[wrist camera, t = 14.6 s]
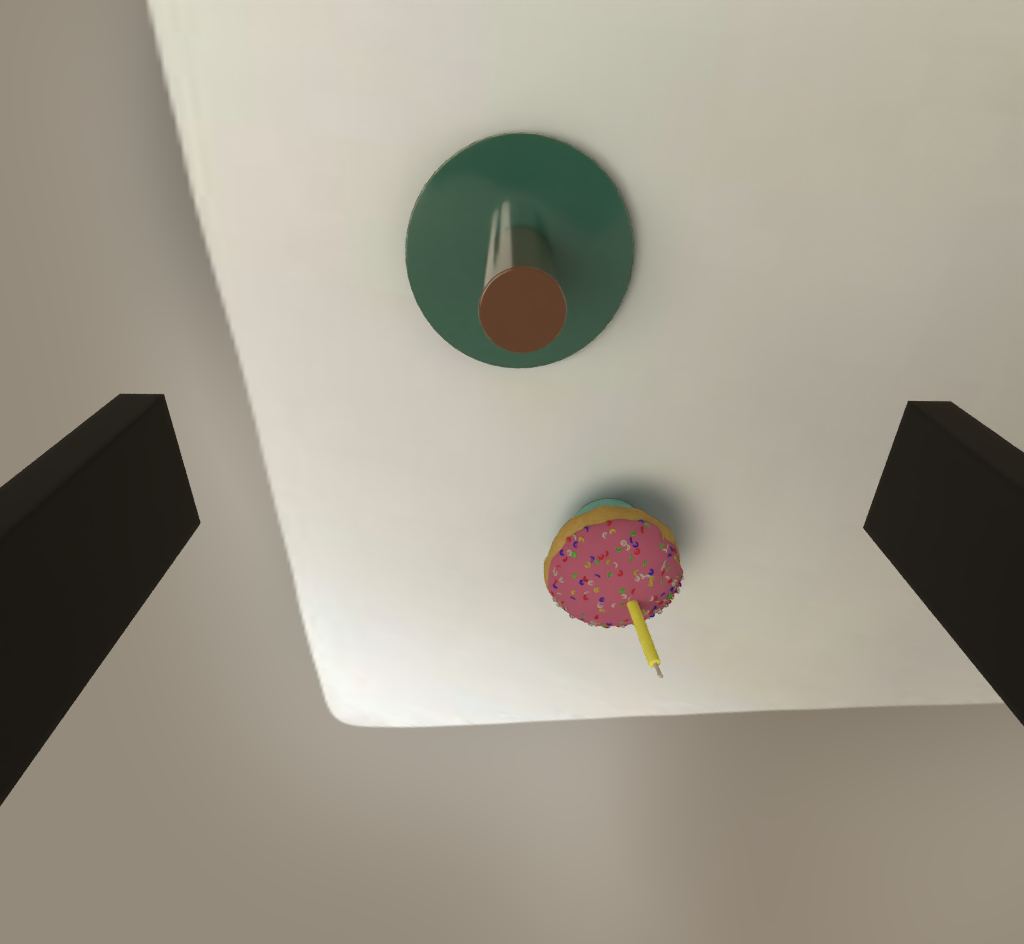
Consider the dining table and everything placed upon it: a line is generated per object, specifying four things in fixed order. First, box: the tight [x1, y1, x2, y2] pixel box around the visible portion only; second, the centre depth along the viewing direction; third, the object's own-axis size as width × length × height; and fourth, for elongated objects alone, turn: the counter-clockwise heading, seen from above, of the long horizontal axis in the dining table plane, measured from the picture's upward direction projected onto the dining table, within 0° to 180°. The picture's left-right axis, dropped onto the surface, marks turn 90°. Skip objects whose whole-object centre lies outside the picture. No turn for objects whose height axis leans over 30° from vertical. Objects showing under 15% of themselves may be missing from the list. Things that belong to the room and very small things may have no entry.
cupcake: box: [544, 499, 684, 678], centre depth 39 cm, size 9×8×12 cm
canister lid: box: [406, 132, 634, 368], centre depth 31 cm, size 12×12×10 cm
